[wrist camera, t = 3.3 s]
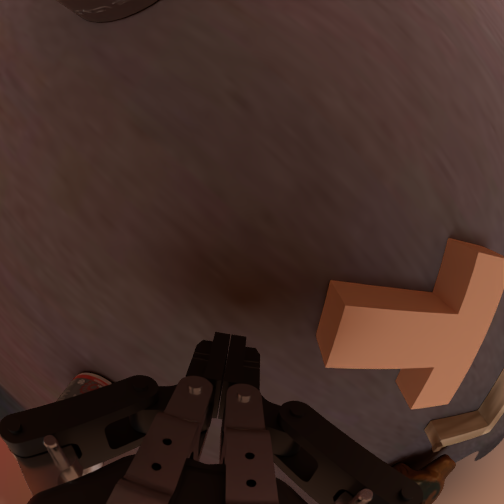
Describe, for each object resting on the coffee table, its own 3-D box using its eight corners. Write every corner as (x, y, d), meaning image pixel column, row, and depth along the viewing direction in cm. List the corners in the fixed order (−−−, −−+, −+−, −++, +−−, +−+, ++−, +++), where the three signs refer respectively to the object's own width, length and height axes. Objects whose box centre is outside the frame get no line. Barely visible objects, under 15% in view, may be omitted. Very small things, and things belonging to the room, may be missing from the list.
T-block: (344, 215, 16) (364, 227, 13) (483, 246, 16) (512, 260, 13) (302, 379, 20) (308, 413, 16) (431, 378, 20) (448, 404, 16)
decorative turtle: (322, 492, 25) (331, 541, 18) (429, 427, 23) (458, 473, 15) (358, 506, 27) (369, 546, 19) (448, 449, 25) (471, 487, 17)
